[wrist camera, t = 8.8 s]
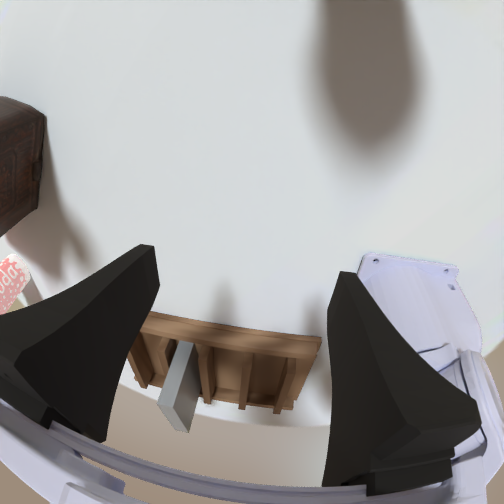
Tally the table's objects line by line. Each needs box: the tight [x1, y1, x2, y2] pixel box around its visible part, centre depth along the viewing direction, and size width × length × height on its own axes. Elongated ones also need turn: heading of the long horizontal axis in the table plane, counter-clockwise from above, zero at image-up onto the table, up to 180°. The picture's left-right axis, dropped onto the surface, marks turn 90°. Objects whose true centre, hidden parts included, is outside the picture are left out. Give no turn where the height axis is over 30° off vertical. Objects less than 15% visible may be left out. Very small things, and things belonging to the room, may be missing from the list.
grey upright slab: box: [157, 340, 202, 433], centre depth 28 cm, size 2×7×8 cm, turn 1°
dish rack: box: [127, 311, 322, 414], centre depth 30 cm, size 22×13×4 cm, turn 86°
